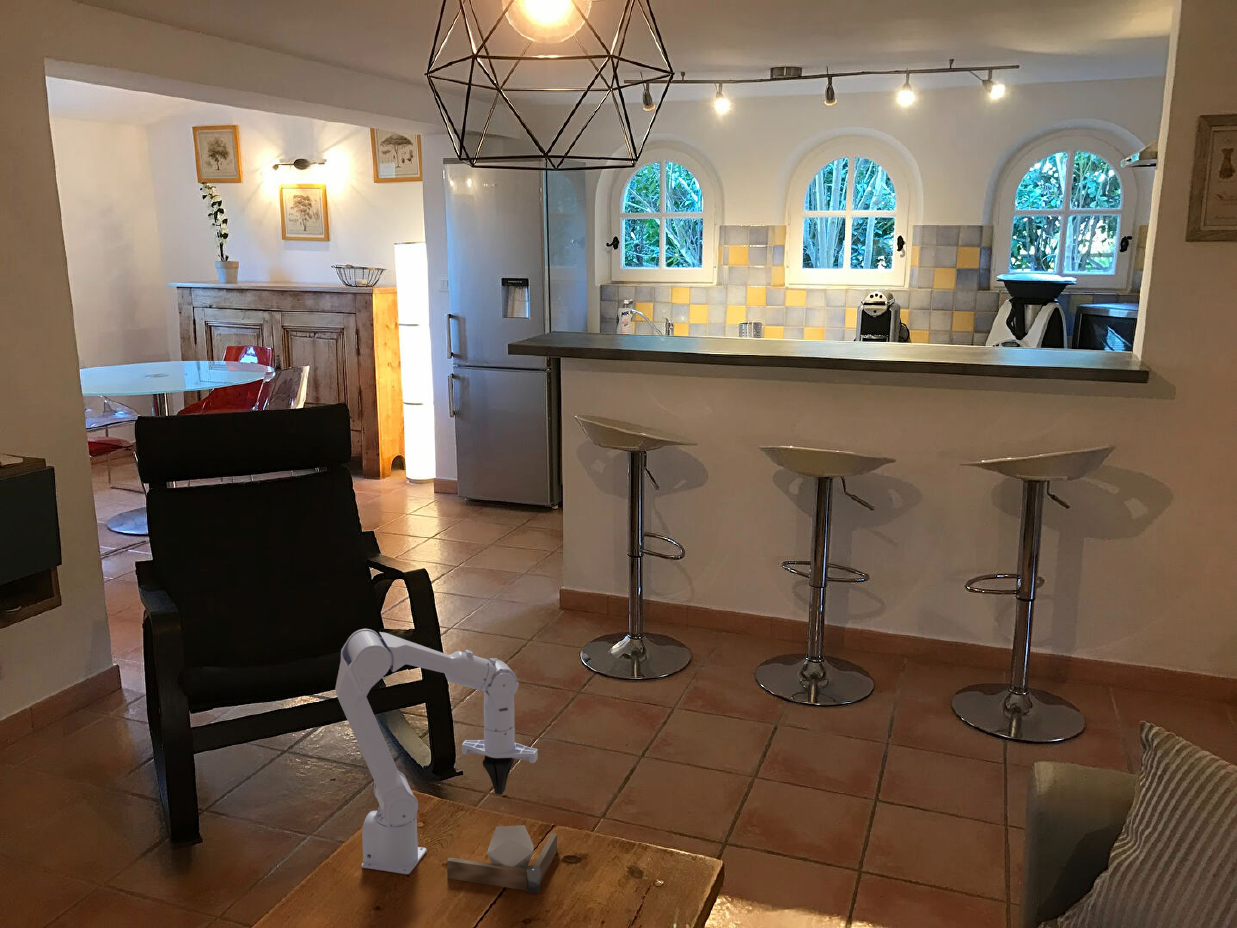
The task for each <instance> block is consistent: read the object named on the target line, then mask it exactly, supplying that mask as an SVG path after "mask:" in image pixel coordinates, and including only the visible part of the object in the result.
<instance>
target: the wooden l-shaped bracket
mask: <svg viewBox="0 0 1237 928" xmlns="http://www.w3.org/2000/svg"><path fill="white" fill-rule="evenodd" d="M557 852H558V833H554V832H551V834H550V836H549V837H548V840H547V841H546V843H545V844H544V846H543V848H542V851H541V852H540V854H539V855H538V857H537V859H536V860H535V862H534V864H532V865H528V867H527V869H524V868H517V867H510V866H504V865H497V864H492V863H488V862H484V861H483V862H482V861H476V860H468V859H462V858H455V857H448V859H447V860H446V876H447V879H448V880H449V879H450V880H456V881H457V880H458V881H462V882H463V881H464V882H469V883H470V882H471V883H476V884H482V885H489V886H495V887H503V888H509V889H514V890H515V889H516V890H520V891H522V890H523V891H526V892H527V893H528V894H530V895H535V894H538V893H540V891H541V882H542V880H543V879H544V876H545V875H546V873H547V871H548V869H549V867H550V866H551V863H552V862H553V860H554V858H555V856H556V853H557Z"/></svg>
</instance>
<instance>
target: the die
mask: <svg viewBox="0 0 1237 928" xmlns="http://www.w3.org/2000/svg"><path fill="white" fill-rule="evenodd" d="M533 854H534V843H533V841H532V839H531V837H530V834H529V833H528V830H527V828H526V825H524V824H521V825H520V824H519V825H501V826H500V825H499V826H495V830H494V832H493V834H492V838H491V840H490V842H489V846H488V848H487V856H488V858H489V860H490V862H491V863H490V864H497V865H504V866H510V867H517V868H524V869H527V867H528V866H529V864H530V861H531V859H532V856H533Z"/></svg>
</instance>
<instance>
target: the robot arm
mask: <svg viewBox="0 0 1237 928" xmlns="http://www.w3.org/2000/svg"><path fill="white" fill-rule="evenodd" d="M405 665H409V666H411V667H412V666H413V667H417V668H421V669H425V670H430V671H434V672H437V673H438V672H439V673H443V674H444V675H445V678H446V680H447V681H448V682H450V683H453V684H457V685H459V686H463V687H467V688H471V689H474V690H478V691H483V739H477V740H476V739H475V740H471V739H465V740H464V741H463V743H462V744H461V754H463V755H468V754H477V755H482V756H484V758H483V760H482V767H483V768H484V769H485V770H486V772H487V774H488V776H489V778H490V780H491V784H492V787H493V790H494V791H493V792H494V794H496V795H503V794H504V792H505V791H506V789H507V788H506V787H507V781H508V778H509V774H510V771H511V769H512V766H513V764H514V762H515V760H520V761H521V760H522V761H528V762H529V763H530V764H534V763H536V761H537V760H538V758H539V757H538V756H539V755H538V753H539V752H538V748H533V747H529V746H526V745H523V744H521V743H517V742H515V741H516V740H515V739H516V738H515V734H516V733H515V731H516V730H515V694H516V693H517V692H518V689H519V685H520V683H519V681H518V677H517V675H516V673H515V672H514V671H513V670H512V669H511V668H510V667H509V666H508V664H507V663H506V662H504V661H502V660H500V659H499V658H497V657H495V658H492V657H490V658H489V659H487V658H483V657H480V656H477V655H475V654H474V652H473V650H469V649H465V650H464V652H463V651H460V650H457V651H454V652H453V653H451V654H447V653H444V652H441V651H438V650H435V649H432V648H431V647H426V646H424V645H422V644H418V643H416V642H414V641H413V642H412V641H410V640H408V639H407V640H406V639H405V638H402V637H398V636H395V635H393V634H391V633H387V632H384V631H383V632H381V631H379V634H378V632H376V631H375V630H373V629H369V628H362V629H358V630H356V631H354V632H353V633H351V635H350V636H349V637H348V638H347V640H346V642H345V643H344V644H343V646H342V648H341V650H340V663H339V669H338V673H337V677H336V682H335V683H336V684H335V689H334V690H335V695H336V696H337V699H338V702H339V704H340V706H341V708H342V711H343V713H344V716H345V717H346V720H347V722H348V725H349V726H350V729H351V731H352V734H353V735H354V738H355V740H356V742H357V745H358V746H359V749H360V752H361V754H362V757H363V758H364V762H365V763H366V765H367V768H368V770H369V772H370V775H371V776H372V779H373V781H374V782H373V794H374V796H375V798H376V800H377V802H378V804H379V806H378V808H377V810H370V811H369V812H368V814H367V815H366V817H365V819H364V821H363V825H362V828H361V829H362V831H361V833H362V834H361V837H362V841H361V842H362V859H363V862H362V863H361V868H363V869H371V870H377V871H384V872H389V873H395V874H403V875H410V873H412V871H414V868H415V867H416V866H417V864H418V863H419V862H420V861H421V859H422V858H423V857H424V855H425V854H426V853H427V851H428V850H427V848H426V847H419V843H418V840H419V839H418V821H417V817H418V816H417V813H418V811H419V801H418V799H417V797H416V796H415V795H414V793H413V792H412V789H411V787H410V784H409V781H408V779H407V777H406V775H405V774H404V773H402V772H401V771H399V769H398V766H397V765H396V763H395V761H394V758H393V756H392V754H391V751H390V748H389V747H388V744H387V742H386V739H385V738H384V735H383V733H382V731H381V728H380V726H379V723H378V721H377V718H376V716H375V714H374V712H373V709H372V706H371V704H370V703H369V700H368V697H367V696H368V694H369V693H370V691H371V689H372V688H373V687H374V686H375V685H376V684H377V683H378V682H379V681H381V679H383V677H384V676H385V675H387V673H388V672H389V670H391V672H392V673H394V672H397V670H399V669H400V668H402V667H403V666H405Z"/></svg>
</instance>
